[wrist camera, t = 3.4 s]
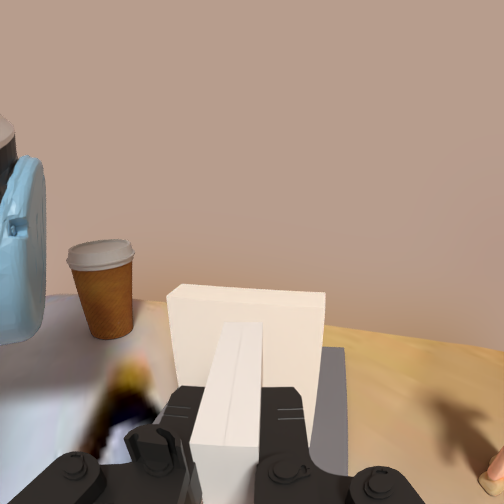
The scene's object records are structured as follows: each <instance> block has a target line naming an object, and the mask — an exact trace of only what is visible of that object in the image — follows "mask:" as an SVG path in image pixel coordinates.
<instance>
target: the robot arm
mask: <svg viewBox="0 0 504 504" xmlns="http://www.w3.org/2000/svg"><path fill="white" fill-rule="evenodd" d="M45 292H46V187H45V178H44V175H43V165H42V162H41V161H40V160H39V159H38V158H31V157H30V156H29V155H26V156H22V157H21V158H19V159H18V157H17V153H16V143H15V131H14V126H13V124H11V123H10V122H9V121H8V120H7V119H5V118H4V117H3V116H2V115H1V114H0V345H6V344H11V343H17V342H22V341H26V340H27V339H29V338H31V337H32V336H33V335H34V334H35V333H36V332H37V331H38V329H39V328H40V326H41V323H42V320H43V315H44V308H45V294H46V293H45ZM163 414H164V415H163V416H162V418H161V421H160V423H159V424H147V425H143V426H139V427H136V428H135V429H133V430H131V431H129V432H128V434H127V435H126V436H125V437H124V441H125V444H126V446H127V449H128V452H129V454H130V457H131V459H132V462H130V463H125V464H109V465H99V463H98V461H97V459H96V458H94V457H93V456H92V455H90V454H88V453H84V452H69V453H66V454H63V455H62V456H60V457H58V458H57V459H56V460H55V461H54V462H52V463H51V464H50V465H49V466H48V467H47V468H46V469H45V470H44V471H43V472H42V473H41V474H39V475H38V476H37V477H36V478H35V479H34V480H33V481H32V482H31V483H30V484H28V485H27V486H26V487H25V488H24V489H23V490H22V491H21V492H20V493H19V494H17V495H16V496H15V497H14V498H13V499H12V500H11V501H10V502H9V503H7V504H200V503H201V498H202V499H203V503H204V504H425V502H424V501H423V500H422V499H421V497H420V496H419V495H418V493H417V492H416V491H415V490H414V488H413V487H412V486H411V484H410V483H409V482H408V480H407V479H406V478H405V477H404V476H403V475H402V474H401V473H400V472H399V471H397V470H395V469H392V468H390V467H384V466H374V467H369V468H366V469H364V470H362V471H360V472H358V473H357V474H356V475H355V476H354V477H350V476H342V475H336V474H331V473H328V472H326V471H324V470H321V469H320V468H319V467H317V466H316V465H315V464H314V462H313V461H312V460H311V457H310V454H309V447H308V439H307V432H306V424H305V419H304V410H303V403H302V396H301V395H300V394H299V393H298V391H297V390H296V389H295V388H294V387H263V322H224V324H223V327H222V331H221V334H220V338H219V341H218V345H217V348H216V352H215V355H214V359H213V362H212V366H211V369H210V372H209V376H208V379H207V383H206V386H205V387H199V386H184V385H182V386H180V387H179V388H178V389H177V390H176V391H175V392H174V393H172V394H171V397H170V399H169V402H168V404H167V407H166V409H165V411H164V413H163Z"/></svg>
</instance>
